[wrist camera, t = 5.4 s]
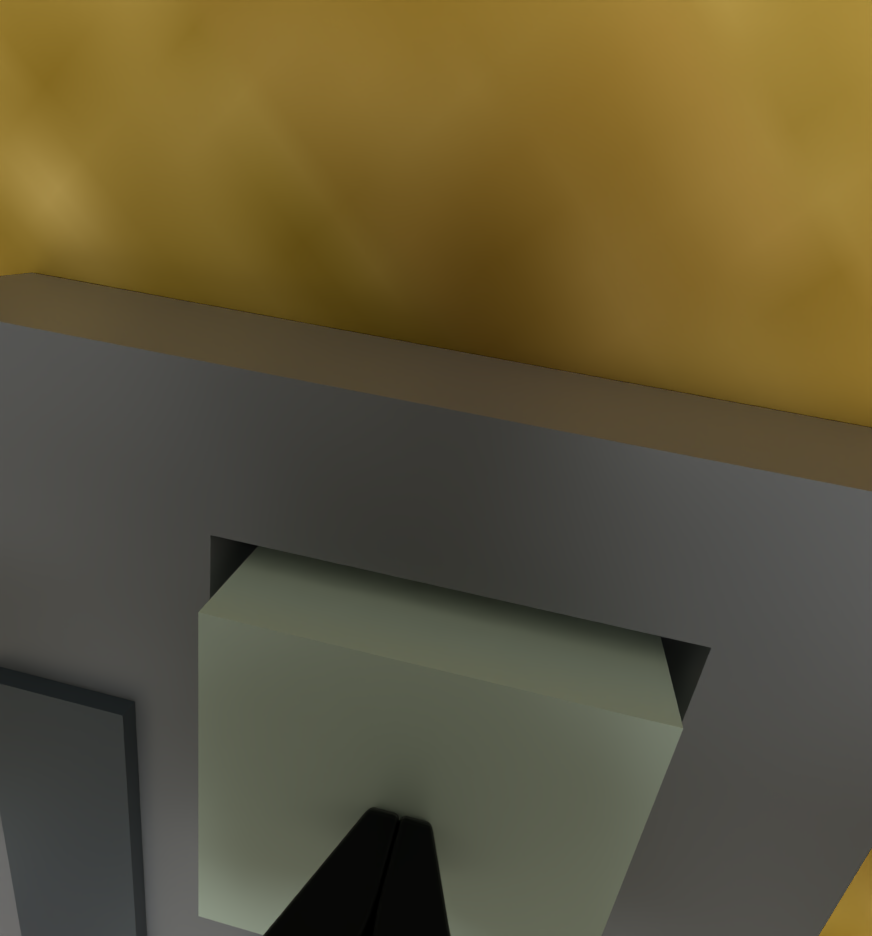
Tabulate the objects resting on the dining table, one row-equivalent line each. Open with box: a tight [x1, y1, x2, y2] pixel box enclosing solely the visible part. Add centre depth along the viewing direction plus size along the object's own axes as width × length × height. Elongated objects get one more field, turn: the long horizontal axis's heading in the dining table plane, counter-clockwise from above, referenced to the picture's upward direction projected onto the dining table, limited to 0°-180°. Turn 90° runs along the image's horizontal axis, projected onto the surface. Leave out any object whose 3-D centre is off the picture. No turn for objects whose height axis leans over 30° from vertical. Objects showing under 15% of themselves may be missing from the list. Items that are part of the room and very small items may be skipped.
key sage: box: [198, 546, 683, 936], centre depth 9 cm, size 6×6×2 cm
